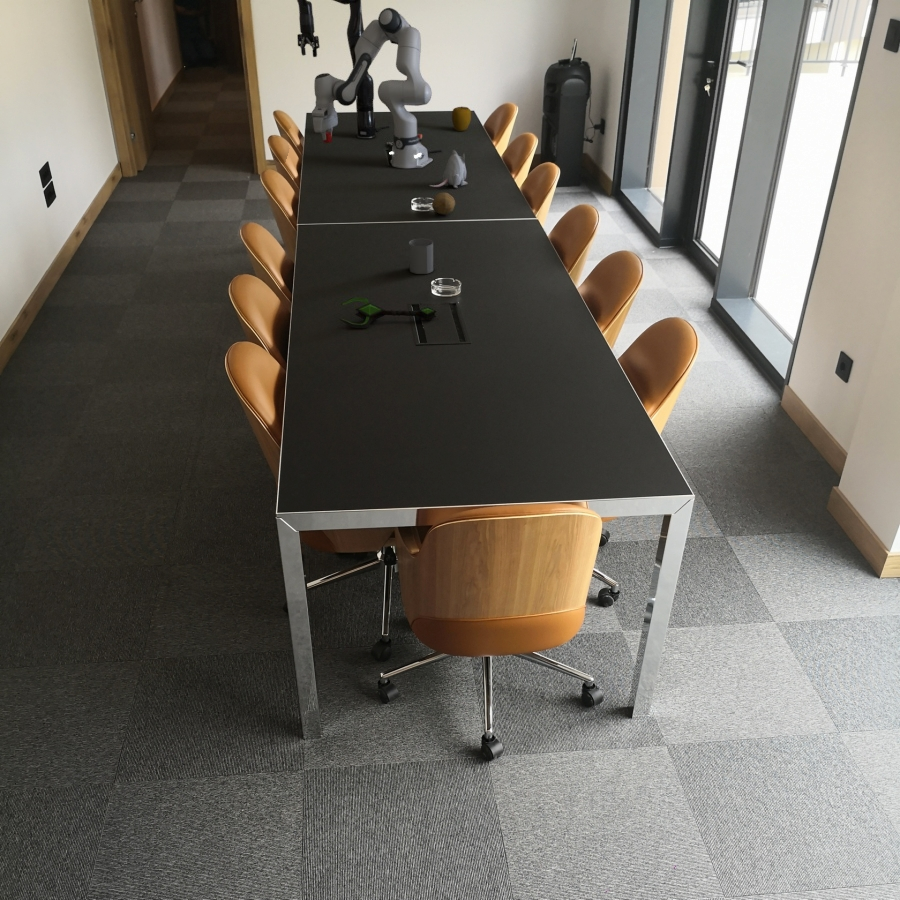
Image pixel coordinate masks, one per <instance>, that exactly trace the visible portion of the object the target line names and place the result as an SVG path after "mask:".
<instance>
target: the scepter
mask: <svg viewBox="0 0 900 900" xmlns="http://www.w3.org/2000/svg"><path fill="white" fill-rule="evenodd" d="M352 302H363V303H365V304H364V305H362V306H359V307H357V308H355V311H357V313H355V316H357V317H359V318H360V319H363V320H364V322H363V323H353V322H351V321H349V320H347V319H343V318H339V320H340V321H341V322H342V323H344V324H346V325H347V326H349V327H351V328H357V329H365V328H366V329H367V328H368V327H369V326H370V325H371V323H372V322H374V321H376V320H378V319H381V318H384V317H385V316H394V317H395V316H398V317H400V316H405V317H410V316H411V317H419V318H420V319H423V320H426V321H429V320H432V319H434V318H437V315H436V313H437V312H438V311H437V310H436V309H433V308H431V307H428V306H427V307H424V308H421V309H419V310H401V309H400V310H394V309H390V310H388V309H387V310H386V309H384V308H382V307H381V306H379V305H377V304H374V303H372V302H371V300H370V299H369V298H368V297H366V296H360V297H359V296H357V297H350V298H349V299H347V300H345V301H343V302H342V303H340V305H341V306H343V305H347V304H349V303H352Z"/></svg>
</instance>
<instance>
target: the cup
mask: <svg viewBox="0 0 900 900" xmlns="http://www.w3.org/2000/svg"><path fill="white" fill-rule="evenodd" d="M408 253H409V272H411V273H412V274H416V275H426V274H430V273H432V272H434V241H433V240H431V239H428V238H422V237H421V238H420V237H419V238H414V239H411V240H410V241H409V242H408Z"/></svg>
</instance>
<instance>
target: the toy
mask: <svg viewBox="0 0 900 900" xmlns="http://www.w3.org/2000/svg"><path fill="white" fill-rule="evenodd" d="M466 178H467V168H466V156H465V153H463V154H462V155H459V154H458V153H457V151H456V150H455V149H453V150H452V153H451V155H450V156H449V158H448V161H447V163H446V166H445V170H444V171H443V177H442V179H443V181H442V182H441V183H439V184H436V185H435V184H433V185H432V184H430V185H428V186H429V187H434V188H440V187H443V186H446V187H448V186H449V185H451V186H453V188H455V189H459V187H458V186H461V187H462V186H467V185H468V182H467V181H465V180H466Z"/></svg>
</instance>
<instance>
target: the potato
mask: <svg viewBox="0 0 900 900" xmlns="http://www.w3.org/2000/svg"><path fill="white" fill-rule="evenodd" d="M455 206H456V200H455V198H454V196H452V195H451V194H449V193H448V192H439V193H437V194H436V195H435V197H434V198H433V200H432V201H431V207H432V209H433V210H434V212H436V213H437V214H439V215H441V216H442V215H449V214H450V213H452V212H453V211H454V209H455Z"/></svg>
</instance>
